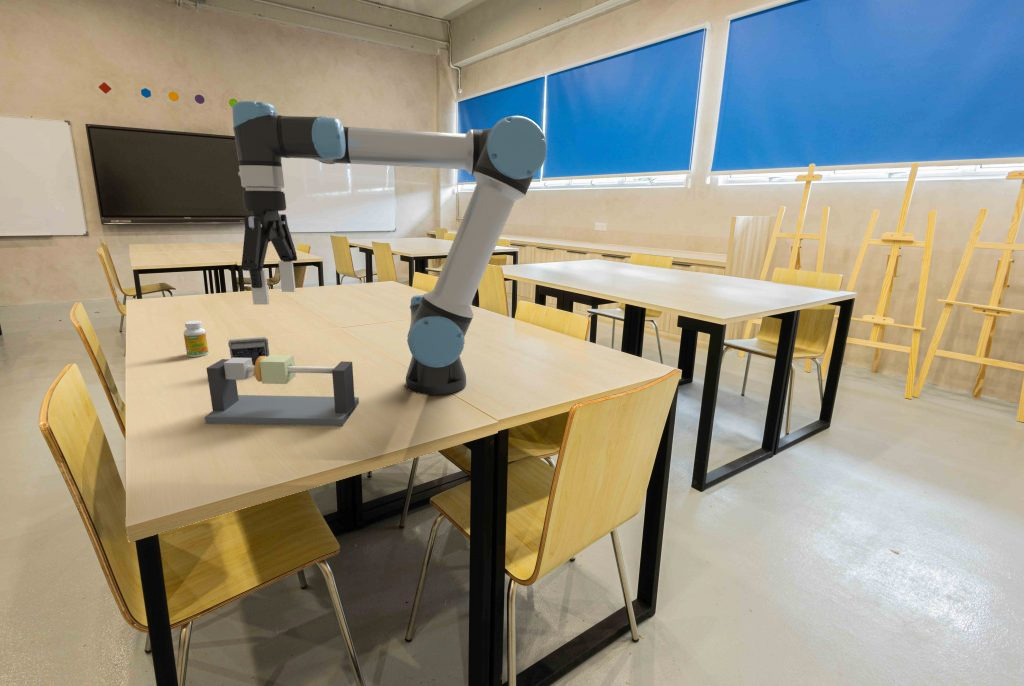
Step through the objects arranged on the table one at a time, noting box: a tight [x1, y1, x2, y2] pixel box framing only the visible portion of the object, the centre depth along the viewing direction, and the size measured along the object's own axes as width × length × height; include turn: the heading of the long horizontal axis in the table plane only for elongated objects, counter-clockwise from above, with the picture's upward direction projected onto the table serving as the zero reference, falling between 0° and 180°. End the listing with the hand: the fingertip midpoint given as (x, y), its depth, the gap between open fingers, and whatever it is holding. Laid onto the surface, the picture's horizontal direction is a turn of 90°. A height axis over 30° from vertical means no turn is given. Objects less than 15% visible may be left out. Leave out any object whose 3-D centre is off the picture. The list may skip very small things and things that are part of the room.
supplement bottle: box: [183, 320, 209, 358], centre depth 147 cm, size 5×5×10 cm
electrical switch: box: [227, 336, 271, 365], centre depth 134 cm, size 9×5×9 cm, turn 113°
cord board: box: [204, 356, 360, 427], centre depth 109 cm, size 28×12×13 cm, turn 91°
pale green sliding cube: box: [260, 354, 296, 385], centre depth 108 cm, size 5×5×5 cm
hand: (276, 297), depth 105 cm, fingers open, 13 cm apart
